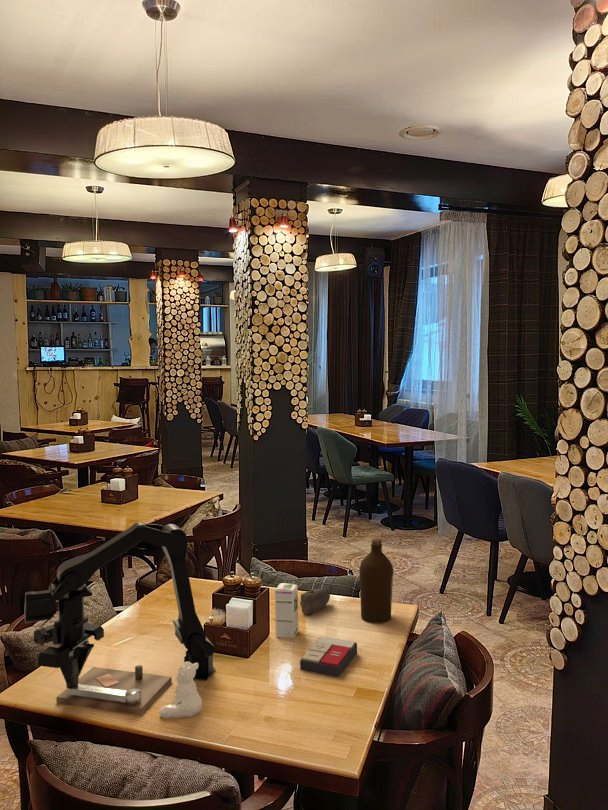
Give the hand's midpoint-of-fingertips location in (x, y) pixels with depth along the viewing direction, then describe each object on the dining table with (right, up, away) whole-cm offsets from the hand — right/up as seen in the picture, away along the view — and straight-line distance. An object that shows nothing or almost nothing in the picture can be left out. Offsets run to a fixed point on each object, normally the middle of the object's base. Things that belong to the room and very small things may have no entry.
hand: (72, 679), depth 159 cm
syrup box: (+50, -3, +39) cm, 64 cm away
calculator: (+62, -4, +21) cm, 66 cm away
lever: (+8, -3, -2) cm, 9 cm away
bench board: (+9, -5, +4) cm, 11 cm away
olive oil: (+78, -2, +52) cm, 93 cm away
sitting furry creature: (+28, -6, -5) cm, 28 cm away
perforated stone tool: (+59, -2, +58) cm, 83 cm away
